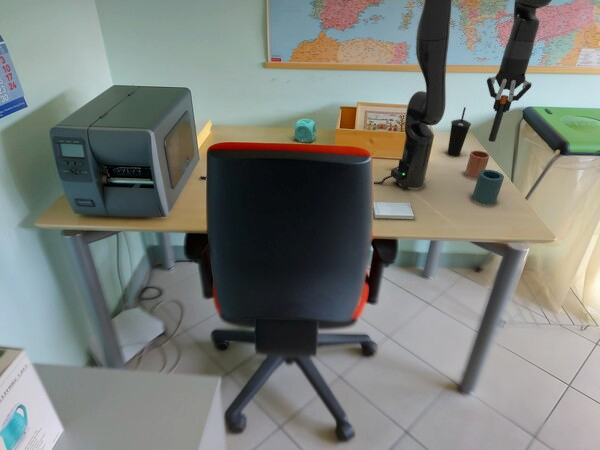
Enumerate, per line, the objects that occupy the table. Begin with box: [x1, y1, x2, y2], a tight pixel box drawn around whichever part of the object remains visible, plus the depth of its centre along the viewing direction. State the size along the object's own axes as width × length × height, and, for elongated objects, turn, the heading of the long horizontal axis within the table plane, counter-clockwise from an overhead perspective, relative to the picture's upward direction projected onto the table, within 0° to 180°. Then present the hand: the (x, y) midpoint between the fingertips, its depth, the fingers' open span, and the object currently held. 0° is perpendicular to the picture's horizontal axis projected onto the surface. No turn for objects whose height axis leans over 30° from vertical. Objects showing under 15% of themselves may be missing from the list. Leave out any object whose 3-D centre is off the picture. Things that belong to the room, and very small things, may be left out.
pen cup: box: [464, 150, 490, 179], centre depth 153 cm, size 7×7×9 cm
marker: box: [488, 94, 509, 143], centre depth 134 cm, size 2×2×15 cm
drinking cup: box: [447, 107, 472, 157], centre depth 166 cm, size 8×8×20 cm
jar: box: [472, 169, 505, 205], centre depth 137 cm, size 8×8×10 cm
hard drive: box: [372, 201, 415, 220], centre depth 133 cm, size 2×8×12 cm
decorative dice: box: [294, 118, 317, 143], centre depth 181 cm, size 8×8×8 cm
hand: (500, 111), depth 133 cm, fingers closed on marker, 2 cm apart
